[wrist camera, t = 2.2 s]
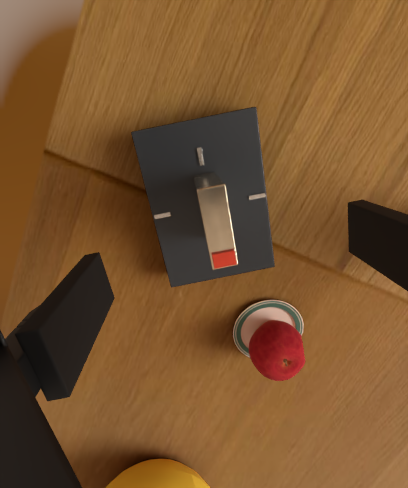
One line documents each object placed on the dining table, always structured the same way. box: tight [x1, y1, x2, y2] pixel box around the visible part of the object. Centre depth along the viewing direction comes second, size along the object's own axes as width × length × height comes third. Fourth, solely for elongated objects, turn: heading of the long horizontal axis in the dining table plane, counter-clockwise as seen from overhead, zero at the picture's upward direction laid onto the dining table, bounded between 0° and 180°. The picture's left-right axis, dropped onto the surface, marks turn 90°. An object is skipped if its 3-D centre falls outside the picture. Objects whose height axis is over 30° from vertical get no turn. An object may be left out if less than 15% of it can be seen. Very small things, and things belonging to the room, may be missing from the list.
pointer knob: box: [193, 172, 238, 270], centre depth 22 cm, size 6×2×7 cm, turn 11°
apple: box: [233, 300, 305, 381], centre depth 30 cm, size 8×8×6 cm
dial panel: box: [131, 107, 275, 287], centre depth 27 cm, size 14×10×3 cm
